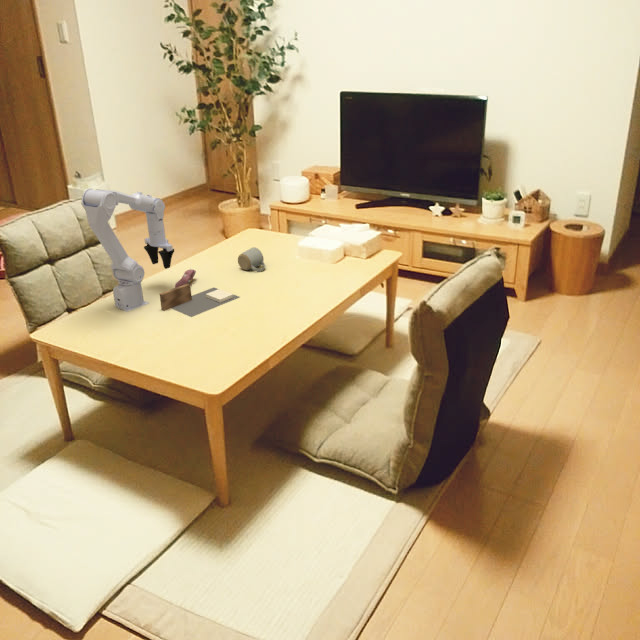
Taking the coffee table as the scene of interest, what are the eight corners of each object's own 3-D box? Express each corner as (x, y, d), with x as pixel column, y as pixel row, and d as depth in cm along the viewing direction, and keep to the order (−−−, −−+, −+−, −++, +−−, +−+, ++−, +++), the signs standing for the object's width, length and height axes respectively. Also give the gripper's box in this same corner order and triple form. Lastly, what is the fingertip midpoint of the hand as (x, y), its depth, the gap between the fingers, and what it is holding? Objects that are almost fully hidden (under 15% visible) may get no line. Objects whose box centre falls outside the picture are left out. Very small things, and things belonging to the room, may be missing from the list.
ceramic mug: (236, 269, 268) (235, 251, 265) (250, 263, 274) (249, 245, 270) (256, 274, 262) (255, 256, 259) (270, 268, 268) (269, 250, 265)
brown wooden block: (164, 310, 231) (162, 294, 228) (161, 309, 232) (159, 293, 229) (192, 300, 239) (190, 284, 236) (189, 298, 240) (187, 283, 237)
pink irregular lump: (184, 293, 250) (190, 278, 247) (173, 287, 250) (179, 272, 247) (193, 283, 259) (199, 268, 256) (182, 278, 259) (188, 263, 256)
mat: (191, 318, 225) (191, 316, 225) (165, 307, 235) (165, 305, 235) (240, 298, 240) (240, 297, 240) (214, 288, 249) (213, 287, 249)
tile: (220, 299, 235) (233, 294, 239) (205, 294, 240) (218, 289, 244) (220, 303, 235) (233, 297, 239) (206, 297, 240) (219, 292, 244)
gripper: (177, 231, 239) (182, 266, 245) (154, 224, 248) (158, 258, 254) (161, 236, 234) (166, 272, 240) (137, 228, 243) (143, 263, 249)
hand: (161, 265), depth 246 cm, fingers open, 7 cm apart
